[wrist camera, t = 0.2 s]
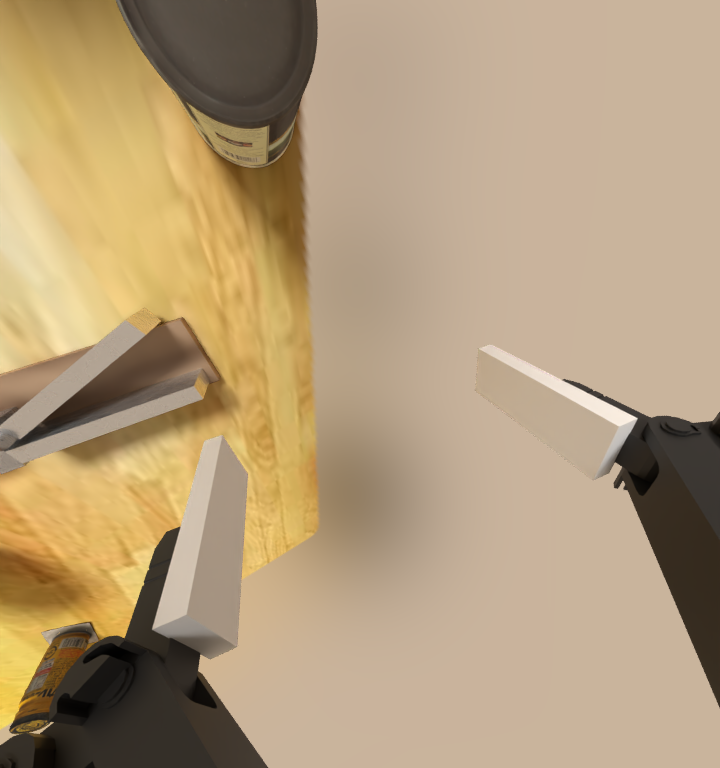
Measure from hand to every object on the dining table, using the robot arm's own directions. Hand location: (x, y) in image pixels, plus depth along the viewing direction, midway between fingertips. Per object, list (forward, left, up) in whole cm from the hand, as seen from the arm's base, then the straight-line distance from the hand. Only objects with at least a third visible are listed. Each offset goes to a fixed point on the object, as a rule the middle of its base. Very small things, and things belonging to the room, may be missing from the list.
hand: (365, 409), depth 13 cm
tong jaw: (0, -26, -26) cm, 37 cm away
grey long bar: (+4, -27, -26) cm, 38 cm away
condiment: (+50, -68, -28) cm, 89 cm away
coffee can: (-19, +1, -28) cm, 34 cm away
